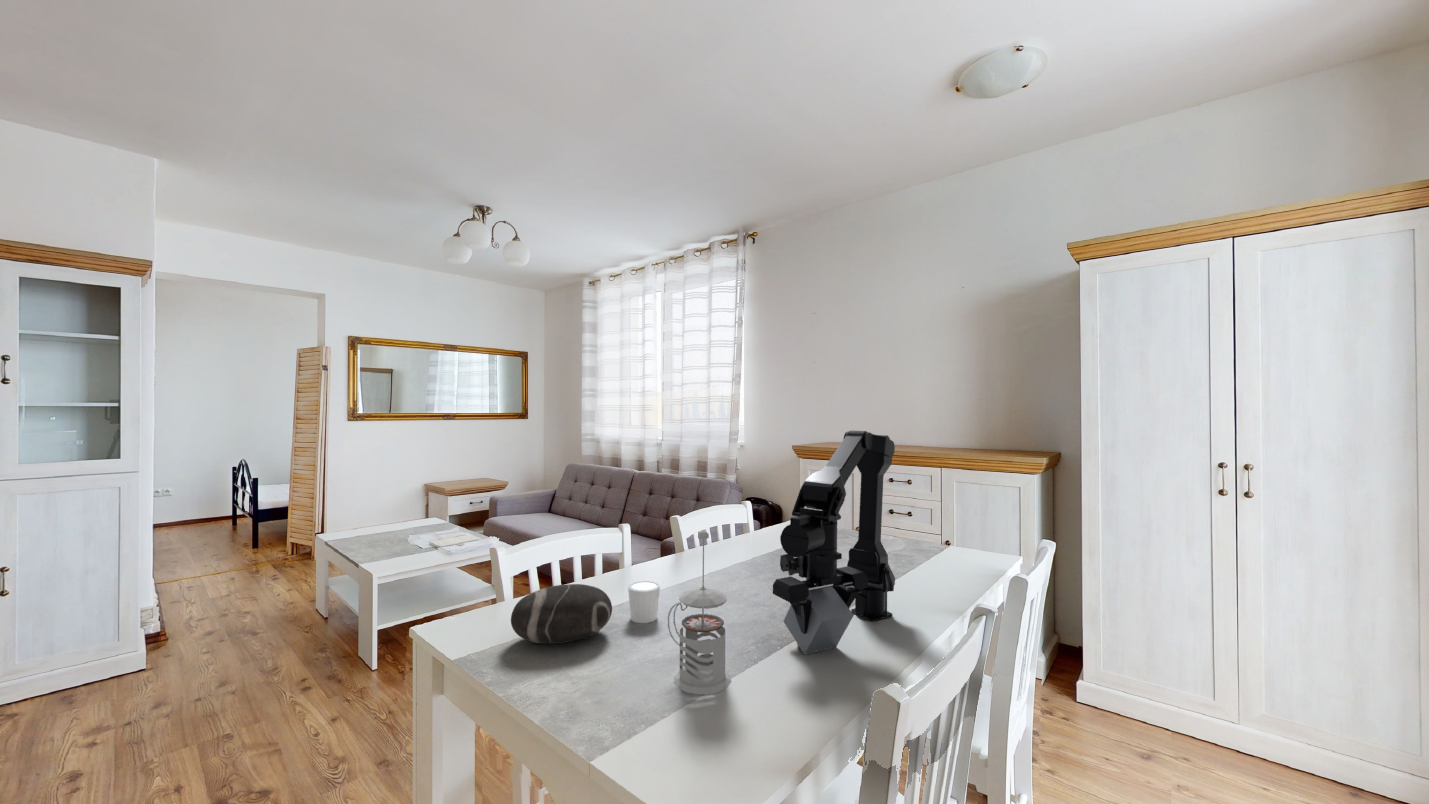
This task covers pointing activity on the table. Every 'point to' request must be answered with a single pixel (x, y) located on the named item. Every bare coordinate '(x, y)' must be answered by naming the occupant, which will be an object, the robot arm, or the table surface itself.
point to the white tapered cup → (643, 601)
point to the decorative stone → (561, 613)
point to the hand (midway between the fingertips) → (820, 629)
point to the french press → (701, 641)
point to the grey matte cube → (821, 621)
